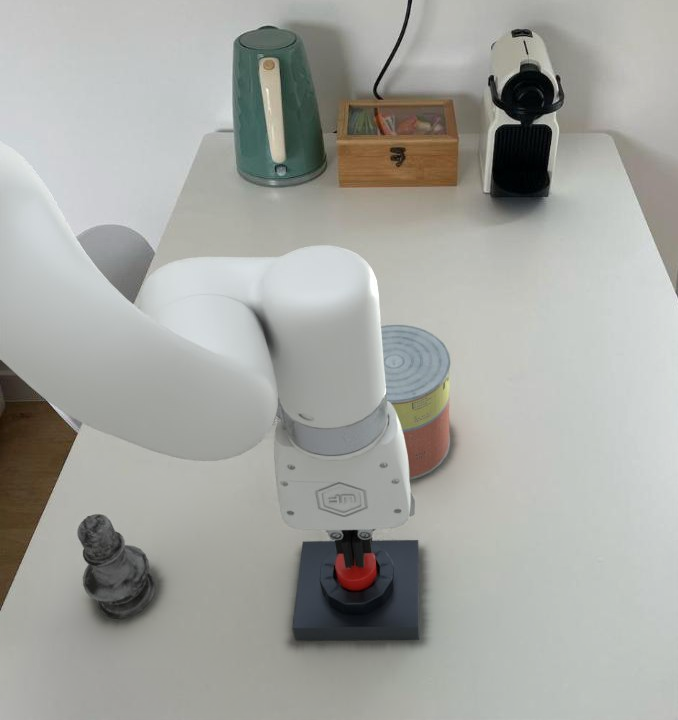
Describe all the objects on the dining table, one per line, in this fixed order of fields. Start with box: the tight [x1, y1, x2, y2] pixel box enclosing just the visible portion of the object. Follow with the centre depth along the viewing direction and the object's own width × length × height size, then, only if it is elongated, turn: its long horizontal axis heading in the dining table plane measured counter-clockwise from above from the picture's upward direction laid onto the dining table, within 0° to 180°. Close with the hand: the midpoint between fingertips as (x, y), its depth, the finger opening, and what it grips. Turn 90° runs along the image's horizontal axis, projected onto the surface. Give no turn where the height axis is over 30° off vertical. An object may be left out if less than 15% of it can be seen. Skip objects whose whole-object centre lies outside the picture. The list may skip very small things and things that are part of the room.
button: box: [335, 553, 377, 591], centre depth 72 cm, size 4×4×2 cm
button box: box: [292, 539, 420, 642], centre depth 74 cm, size 11×9×4 cm
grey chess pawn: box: [77, 513, 156, 620], centre depth 72 cm, size 6×6×12 cm
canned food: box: [381, 324, 451, 481], centre depth 85 cm, size 11×11×12 cm
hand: (355, 553), depth 71 cm, fingers closed
